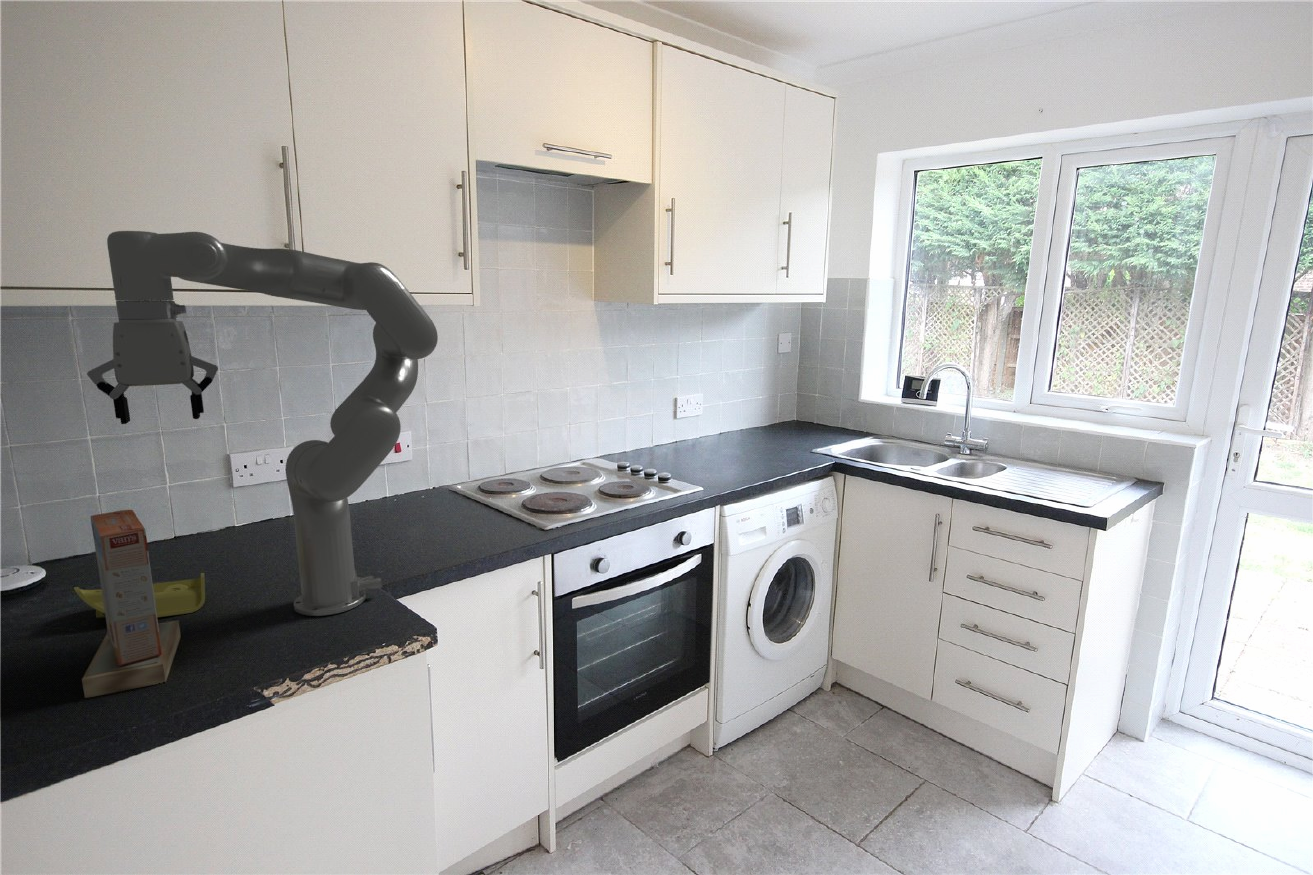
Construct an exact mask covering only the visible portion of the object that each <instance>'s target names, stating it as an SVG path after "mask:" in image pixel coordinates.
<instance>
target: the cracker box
mask: <svg viewBox="0 0 1313 875" xmlns="http://www.w3.org/2000/svg"><path fill="white" fill-rule="evenodd" d="M90 524H91V529H92V530H91V531H92V535H93V542H94V548H95V555H96V561H97V562H96V564H97V568H98V569H97V570H98V576H99V582H100V588H101V589H102V596H103V603H104V610H105V617H104V618H105V622H106V630H107V631H106V632H107V633H108V637H109V639H110V642H111V645H112V648H113V651H114V653H115V656H116V659H117V661H118V664H119V666H122V665H126V664H129V663H133V662H137V661H141V660H144V659H148V658H152V657H156V656H159V655H162V650H161V642H160V635H159V628H158V624H159V622H158V621H159V620H158V618H157V613H156V606H155V598H154V590H153V584H154V583H153V578H152V570H151V564H150V555H149V547H148V539H147V530H146V527H145V526H144V524H143V523H142V522H141V520H140V519H139V518H138V516H137V513H135V511H134V510H133V509H122V510H117V511H110V512H105V513H98V514H94V515H90Z"/></svg>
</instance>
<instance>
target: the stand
mask: <svg viewBox="0 0 1313 875" xmlns="http://www.w3.org/2000/svg"><path fill="white" fill-rule="evenodd" d="M158 628H159V635H160V642H161V650H162V655H159V656H156V657H152V658H148V659H144V660H141V661H137V662H133V663H129V664H126V665H122V666H119V664H118V661H117V659H116V656H115V653H114V651H113V648H112V645H111V642H110V639H109V637H108V632H107V633H106V635H105V637H104V638H103V640H102V642H101V643H100V646H99V647H98V649H97V651H96V653H95V654H94V656H93V659H92V660H91V662H90V664H89V666H88V668H87V669H86V671H85V672H84V675H83V677H82V678H81V682H82V689H83V693H84V699H88V698H93V697H97V696H98V697H99V696H103V695H110V694H113V693H118V692H123V691H128V690H132V689H133V690H134V689H138V688H142V687H149V686H154V685H160V684H164V683H163V682H165V683H167V680H168V676H169V674H170V671H171V667H172V664H173V661H174V659H175V655H176V652H177V649H178V646H179V643H180V640H181V635H182V634H181V629H180V621H179V619H178V620H171V621H166V622H161V623H159V622H158ZM159 683H160V684H159Z"/></svg>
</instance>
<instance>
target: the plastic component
mask: <svg viewBox="0 0 1313 875" xmlns="http://www.w3.org/2000/svg"><path fill="white" fill-rule="evenodd" d="M205 579H206V578H205V573H204V572H201V573H200V577H198V578H192V579H191V578H190V579H183V580H173V581H165V582H157V583H155V582H154V583H153V590H154V598H155V606H156V613H157V619H158V618H165V617H172V616H178V615H184V614H185V615H186V614H192V613H194V612H196V611H199V610H200V609H201V608H202V607H203V606H204V604H205V602H206V585H205V583H206V581H205ZM73 589H74V591H75V593H76V594H77V595H78V596H79V597H80V599H81V600H82V601H84V603H86V604H87V605H88V606H90V608H93V609H94V610H95V617H96V618H97V619H99V618H101V619H102V618H103V619H105V618H106V617H105V610H104V603H103V596H102V589H82V588H80V587H78V586H76V587H73Z"/></svg>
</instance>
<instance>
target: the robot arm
mask: <svg viewBox="0 0 1313 875" xmlns="http://www.w3.org/2000/svg"><path fill="white" fill-rule="evenodd" d="M106 244H107V250H108V258H109V265H110V272H111V277H112V285H113V291H114V298H115V305H116V306H115V307H116V313H117V318H118V320H117V321H118V322H117V321H116V322H114V323H113V327H112V357H113V358H112V359H111V360H108V361H106V362H104V363H102V364H101V365H98V366H96V367H95V368H92V369H90V370H89V371H87V373H86V374H87V377H89V379H90V380H91V381H92V383H93V384H95V386H96V388H97V389H98V390H100V391H101V392H102V393H104V394H105V395H107V396H108V397H109V398H110V399H112V401H113V407H114V413H115V419H120V424H121V425H127V424H128V423H129V422H130V421H131V416H130V409H129V408H130V407H129V402H128V397H126V396H125V392H126V391H127V390H128V388H129V387H143V386H162V385H163V386H164V385H165V386H166V385H167V386H168V385H179V384H182V385H183V386H184V387H186V388H187V389H188V390H189V391H190V392H191V394H190V395H189V396H190V397H189V398H190V405H191V406H190V407H191V414H192V419H194V420H199V419H200V417H201V414H204V413H205V412H204V403H203V402H204V401H203V392H204V391H205V390H206V389H207V388H208V387H209V386H210V385H211V383H213V381H214V378H215V377H216V374H217V372H218V370H219V367H218V365H216V364H214V363H211V362H208V361H206V360H203V359H201V358H198V357H196V356H192V353H191V352H192V351H191V346H190V342H189V337H188V334H187V330H186V327H185V324H184V322H183V320H177V317H178V316H179V315H181V314H186V313H187V309H186V305H185V304H179V303H177V302H176V301H175V299H174V292H173V284H172V278H178V279H180V280H184V281H188V282H193V283H199V284H205V285H210V286H211V285H212V286H217V287H223V288H229V289H234V290H235V289H236V290H242V291H249V292H254V293H259V294H262V295H263V294H264V295H266V296H270V297H275V298H276V297H277V298H284V299H290V300H294V301H301V302H309V303H314V304H315V303H316V304H321V305H327V306H331V307H332V306H333V307H337V308H344V309H351V310H356V311H357V310H358V311H359V310H360V311H366V313H367V314H368V315H369V316H370V317H371V319H372V320H373V321H374V322H375V324H374V326H373V329H372V339H373V343H374V347H375V361H374V364H373V366H372V368H371V369H370V371H369V372H368V373H367V375H366V376H365V377H364V378H363V380H362V381H361V383H359V385H357V387H356V388H355V389H354V390H352V392H351V393H350V394H349V395H348V396H347V397H346V398H345V399H344V401H342V402H341V404H339V405H338V406H337V407H336V408H335V410H334V411H333V413H332V415H331V418H330V422H329V423H330V429H331V432H332V434H333V435H334V436H333V437H332V438H331V439H330V440H329V441H328V442H327V441H325V440H320V439H311V440H305V441H303V442H300V443H299V444H297V445H296V446H294V448H293V449H292V450H291V451H290V453H289V454H288V456H287V459H286V461H285V478H286V482H287V487H288V492H289V497H290V502H291V506H292V513H293V520H294V521H293V522H294V532H295V533H294V535H295V540H296V541H295V543H296V552H297V562H298V569H299V570H298V571H299V579H300V588H301V589H300V590H301V594H300V595H299V596H297V597H296V598H295V599H294V601H293V609H294V611H295V612H296V613H298V614H300V615H303V616H309V617H324V616H330V615H331V616H332V615H336V614H340V613H343V612H347V611H349V610H352V609H354V608H356V607H358V606H359V605H361V604H362V603H363V602H364V601H365V600H366V590H370V589H371V590H375V589H379V588H383V585H382V578H381V577H376V578H374V575H369V576H364V577H361V576H358V574H357V571H356V569H355V560H354V558H355V557H354V550H353V549H354V548H353V538H352V536H353V535H352V528H351V527H352V526H351V514H350V507H349V500H348V497H350V496H352V495H353V494H354V493H355V492H357V490H359V488H361V486H363V484H364V483H365V482H366V481H367V480H368V479H369V477H370V476H371V475H372V474H373V473H374V472H375V471H376V470H377V468H378V467H379V466H381V463H382V462H383V461H384V460H385V459H386V458H387V456H388V455H389V454H390V453H391V451H392V450H394V448H395V446H396V444H397V443H398V440H399V438H400V436H401V430H402V429H401V428H402V427H401V426H402V425H401V421H400V417H399V415H398V414H397V413H398V412H399V410H400V409H401V408H402V406H403V405H404V404H405V402H406V401H407V400H408V399H409V397H410V396H411V394H412V392H413V391H414V390H415V387H416V384H417V380H418V377H419V376H418V375H419V360H420V359H424V358H426V357H428V356H430V355H431V354H432V353H433V352H434V351H435V349H436V347H437V344H438V339H439V338H438V331H437V327H436V325H435V323H434V321H433V320H432V319H431V318H430V316H429V314H428V313H427V312H426V311H425V309H424V308H423V307H422V306H421V305H420V304H419V302H418V301H417V300H416V298H415V297H414V296H413V294H412V293H411V292H410V291H409V290H408V288H407V287H406V286H405V285H404V283H402V281H401V280H400V278H398V276H397V275H396V274H395V273H394V272H393V271H392V270H390V268H388V267H387V266H385V265H383V264H382V263H378V262H374V261H373V262H354V261H349V260H345V259H339V258H334V257H331V256H325V255H324V256H323V255H319V254H315V253H311V252H306V251H301V250H299V249H298V250H297V249H291V248H289V249H288V248H258V247H256V248H255V247H250V246H249V247H248V246H242V245H235V244H230V243H224V242H221V241H220V240H219V239H217V238H216V237H214V236H213V235H210V234H209V233H205V232H201V231H184V232H174V233H173V232H172V233H157V232H153V231H145V230H144V231H142V230H118V231H112V232H111V233H109V234H108V236H107V238H106ZM194 367H197V368H199V369H201V370H204V371H205V372H206V373H205V376H204V378H203V379H202V380H200V382H197V381H196V380H195V379H194V375H195V370H194ZM113 369H114V376H115V380H116V382H117V384H116V385H115V386H113V385H112V384H110V383H109V382H107V381H106V379H105V378H104V376H103V375H104V374H105V373H107V372H108V373H109V372H110V371H111V370H113Z"/></svg>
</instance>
